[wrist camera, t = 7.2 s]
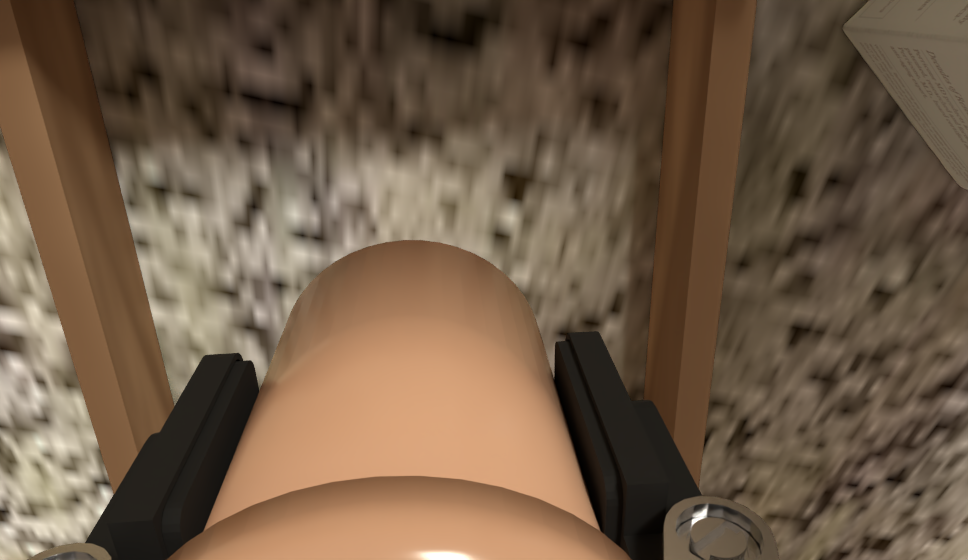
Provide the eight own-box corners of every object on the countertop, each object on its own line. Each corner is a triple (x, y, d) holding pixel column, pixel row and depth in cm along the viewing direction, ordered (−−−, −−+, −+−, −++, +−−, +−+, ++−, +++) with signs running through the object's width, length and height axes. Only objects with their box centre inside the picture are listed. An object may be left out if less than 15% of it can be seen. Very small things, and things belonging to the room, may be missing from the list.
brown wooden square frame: (716, -86, 18) (802, -107, 14) (665, 460, 25) (712, 552, 21) (14, -68, 17) (-114, -85, 13) (168, 501, 24) (117, 607, 20)
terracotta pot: (563, 212, 13) (742, 533, 6) (557, 467, 15) (675, 920, 8) (237, 228, 12) (-31, 594, 5) (285, 486, 15) (151, 977, 8)
